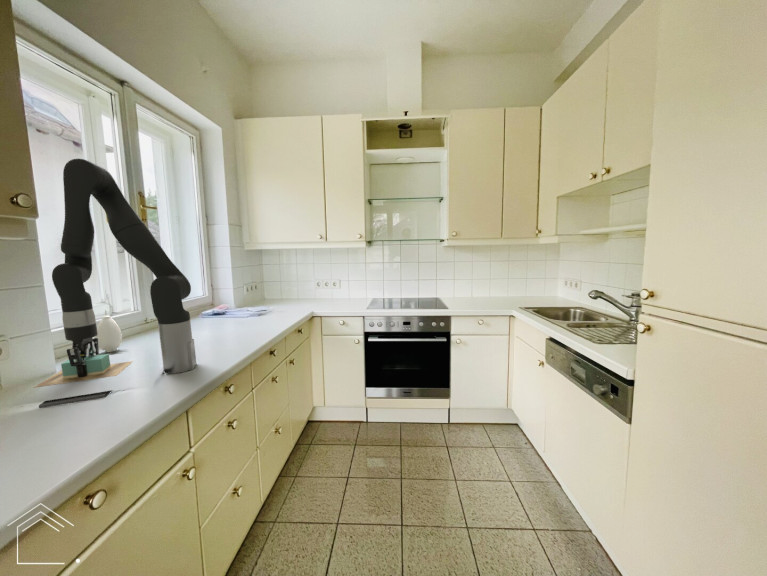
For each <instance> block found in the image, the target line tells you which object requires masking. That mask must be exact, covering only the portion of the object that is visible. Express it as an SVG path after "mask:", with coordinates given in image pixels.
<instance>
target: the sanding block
mask: <svg viewBox="0 0 767 576" xmlns="http://www.w3.org/2000/svg"><path fill="white" fill-rule="evenodd" d="M110 362H111V360H110V354H109V353H107V354H106V353H105V354H98V355H95V356H88V358H86V367H87V376H88V375H96V374H103V373H104V372H106V371H107V370H108V369H110V368H111V366H110V364H111V363H110ZM60 365H61V371H62V373H63V379H66V378H74V377H78V375H77V369H76V366H71V365H70V361H69V359H67V360H66V361H64V362H62V363H61V364H60Z"/></svg>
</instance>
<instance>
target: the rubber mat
mask: <svg viewBox="0 0 767 576" xmlns="http://www.w3.org/2000/svg"><path fill="white" fill-rule="evenodd" d="M113 391H114V390H104V391H100V392H93V393H92V392H91V393H88V394H86V393H85V394H82V395H81V394H79V395H74V396H73V395H72V396H68V397H61V398H54V399H47V400H45V401H43V402H42V403H40V404H39V405H38V409H44V408H49V407H55V406H63V405H67V404H68V403H69V404H73V403H74V402H75V403H80V402H86V401H93V400H99V399H104V398H107V397H108V395H110V394H111V393H112V392H113ZM110 392H111V393H110ZM62 404H63V405H62Z"/></svg>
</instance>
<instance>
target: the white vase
mask: <svg viewBox="0 0 767 576" xmlns="http://www.w3.org/2000/svg"><path fill="white" fill-rule="evenodd" d="M104 314H105V315H104V316H101V320H100V321H99V322H98V325H97V333H98V334H97V336H95V338H98V347H99V348H100V350H101V351H104V352H107V353H113V352H112V351H114V352H115V351H117V349H118V348H120V346H121V344H122V342H123V335H122V331H121V328H120V327H119V326H120V325H118V323H117V322H116V321H115V319H113V318H112V316H111V315H108V314H107V310H106V309H105V310H104Z"/></svg>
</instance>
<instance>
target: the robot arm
mask: <svg viewBox="0 0 767 576" xmlns="http://www.w3.org/2000/svg"><path fill="white" fill-rule="evenodd" d="M62 176H63V177H62V179H63V181H62V182H63V193H64V194H63V195H64V196H63V197H64V199H63V200H64V225H63V231H62V236H61V243H60V250H61V253H63V254H64V263H60V264H57V265H56V266H55V267H54V268H53V269H52V272H51V279H52V280H51V281H52V283H53V286H54V288H55V291H56V293H57V294H58V296H59V299H60V306H61V311H62V313H61V314H62V325H63V331H64V336H65V340H66V341H71V342H72V348H68V349H66V353H67V354H66V355H67V358H68V360H69V361H70V365H71V366H76V369H77V375H78V377H85V376H87V367H86V358H88V356H95V355H100V351H99V350H100V349H99V348H100V347H99V346H98V338H96V336H97V334H98V333H97V327H98V325H97V320H96V315H95V311H94V307H93V302H92V301H93V300H92V296H91V294H90V293H89V292H87V291H86V289H85V285H84V283H86V282H87V281H88V280H90V278H91V276H92V271H93V260H92V259H93V257H92V252H93V251H92V250H93V244H94V239H95V226H94V222H93V219H92V214H91V208H90V200H91V197H93V198H94V199H95V200H96V201H97V202H98V205H99V204H100V206H101V207H102V209H103V210H104V213H105V215H106V218H107V223H108V227H109V229H110V232H111V234H112V235H113V236H114V238H115V239H116V241H117V242H118V243H119V244H120V246H121V248H123V249H124V250H125V251H126V252H127V253H128V254H129V255H130V256H131V257H133V258H135V259H136V260H137V261H139V262H140V263H141V264H143V265H144V266H145V267H146V268H148V269H149V270H150V271H151V273H152V274H153V275H154V276H155V279H154V280H153V281H152V282H151V285H150V287H149V292H150V298H151V306H152V311H153V314H154V316H155V318H156V319H157V325H158V327H157V328H158V334H159V340H160V341H159V343H160V351H161V358H162V360H161V361H162V368H163V372H164V374H170V375H172V374H179V373H183V372H187V371H189V370H190V371H191V370H194V369H195V368H196V365H197V356H196V355H197V354H196V348H195V347H196V346H195V339H194V338H193V335H192V334H193V333H192V323H191V314H190V312H189V311H188V310H185V308H184V305H183V304H184V303H183V300H184V299H186V298H188V297H189V296H190V294H191V292H192V286H191V283H190V281H189V279H188V278H187V277H186V276H185V275H184V273H183V272H181V270H180V269H179V268H178V267H177V266H176V265H175V263H174V262H173V261H172V260H171V259H170V258H169V256H168V255H167V254H166V252H165V250H164V249H163V248H162V247H161V245H160V243H159V242H158V240H157V239H156V238H155V237H154V235H153V234H152V232H151V231H150V230H149V228H148V227H147V225H146V224H145V222H144V221H143V220H142V219H141V218H140V217H139V215H138V213H137V212H136V211H135V209H134V208H133V207H132V206H131V204H130V203H129V201H127V199H126V197H125V196H124V193H123V192H122V190H121V189H120V187H119V185H118V183H117V182H116V180H115V178H114V177H113V176H112V174H111V173H110V172H109V171H108V170H107V169H106V168H104V167H102V166H100V165H98V164H96V163H93V162H91V161H89V160H87V159H83V158H72V159H70V160H68V161H67V162H66V164H65V165H64V167H63V175H62ZM81 355H83V356H81Z"/></svg>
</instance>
